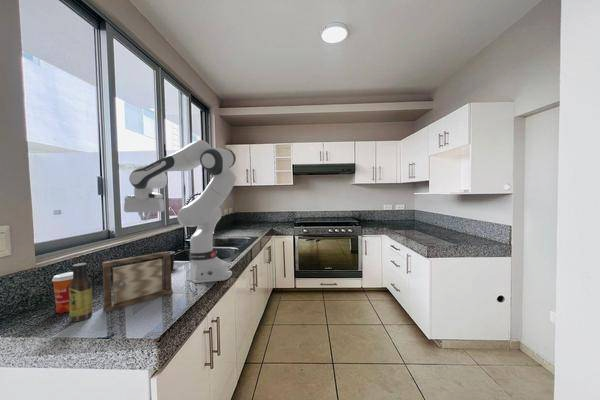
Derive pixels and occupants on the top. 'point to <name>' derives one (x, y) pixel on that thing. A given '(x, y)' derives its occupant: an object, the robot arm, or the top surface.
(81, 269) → the sauce bottle
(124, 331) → the top surface
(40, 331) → the top surface
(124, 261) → the brown wooden frame
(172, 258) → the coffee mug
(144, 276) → the birch door
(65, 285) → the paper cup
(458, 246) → the top surface
